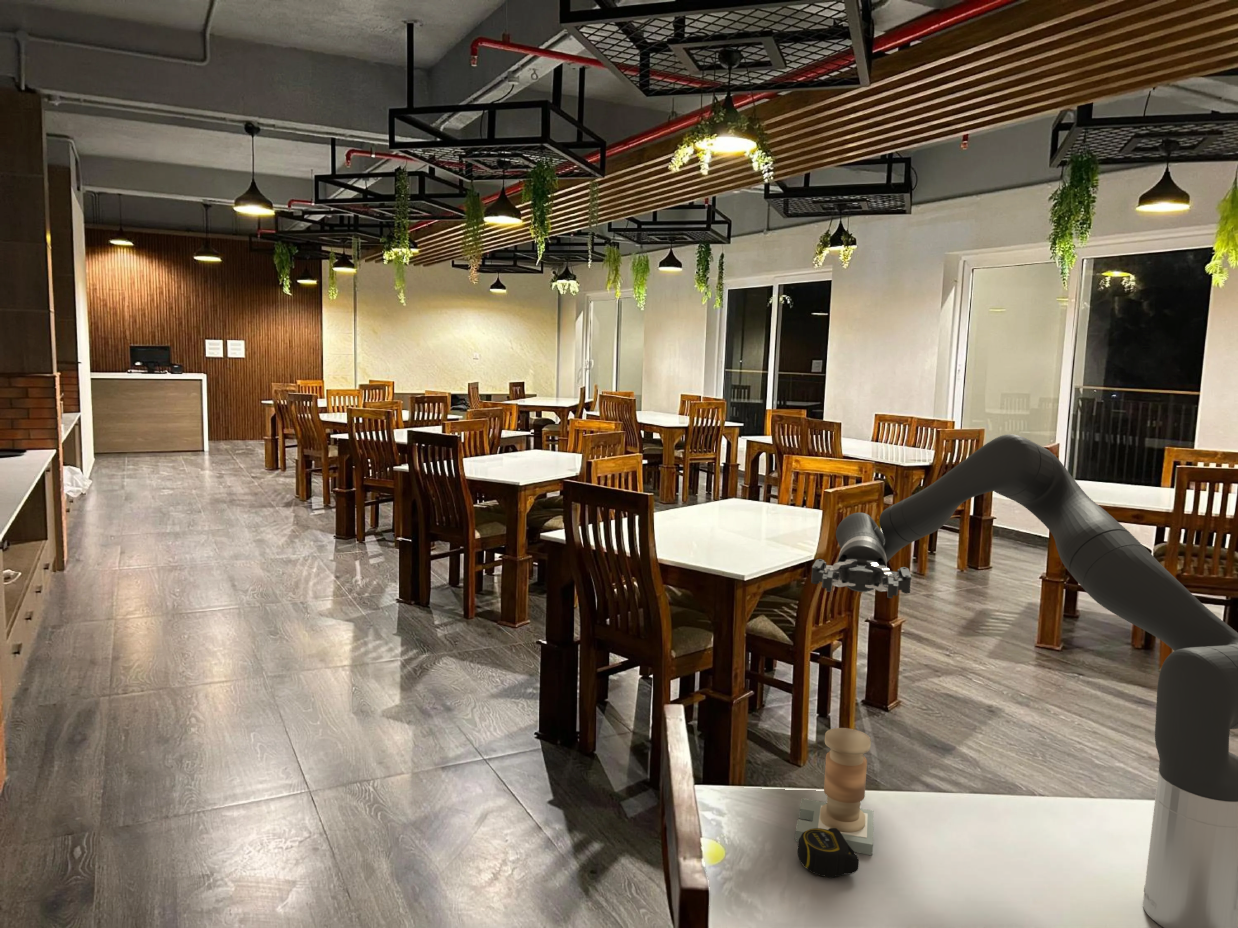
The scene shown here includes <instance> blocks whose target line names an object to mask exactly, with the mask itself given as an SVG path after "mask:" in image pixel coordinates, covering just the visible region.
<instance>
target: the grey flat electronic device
mask: <svg viewBox="0 0 1238 928" xmlns="http://www.w3.org/2000/svg"><path fill="white" fill-rule="evenodd" d="M825 804H827V801H826V802H825V801H820V800H814V799H808V798H803V797H801V799H800V804H799V812H798V813H799V815H798V819H797V821H796V827H795V834H794V835H795V838H794V842H798V841H799V838H800V837H801V835H802V833H803V832H805V831H807V830H809V829H813V828H821V829H826V830H828V829H830V828H829V827H827V826H826V825H824V824H823V823H822V821H821V820H820V810H821V807H822V806H823V805H825ZM860 810H861V811H863V813H864V814H865V826H864V828H863V829H862V830H860V831H857V832H841V831H840V833H841V834H842V835H843V837H844V839H845V840H846V842H847V843H848V845H849V846H850V847H851V848H852V849H853V851H854V852H855V853H856V854H857V853H858V854H862V855H863V854H864V855H868V856H869V855H870V856H873V848H874V816H875V813H874V812H875V811H874V810H873V809H866V808H861V807H860Z"/></svg>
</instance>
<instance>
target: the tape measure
mask: <svg viewBox="0 0 1238 928" xmlns="http://www.w3.org/2000/svg"><path fill="white" fill-rule="evenodd" d="M796 850H797V851H796V852H797V856H798V860H799V861H800V863H801V864H802V866H804V868H806V870H808V871H809V872H811V873H813V874H815V875H818V876H822V877H828V878H834V877H839V876H840V877H841V876H844V875H850V874H854V873H856V872H857V871H858V870H859V866H860V861H859V860H860V859H859V857H858V855H857V852H854V851H853V849H852V848H851V847H850V846H849V845H848V843H847V842H846V840H845V839H844V837H843V835H842V834H841V833H840V831H839V830H838V829H837V828H830V829H828V830H826V829H821V828H813V829H809V830H807V831H805V832H803V833H802V835H801V837H800V838H799V841H797V849H796Z"/></svg>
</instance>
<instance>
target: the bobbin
mask: <svg viewBox="0 0 1238 928" xmlns="http://www.w3.org/2000/svg"><path fill="white" fill-rule="evenodd" d="M870 737H871V736H869V735H868V734H866V733H865V732H863V731H860V730H857V729H854V728H853V729H852V728H848V727H835V728H830V729H828V730H827V731H826V732H825V733H824V743H825V745H826V747H828V748H829V749H830V750H829V751H828V752H827V753H826V755H825V767H824V768H825V770H824V783H823V785H824V786H823V792H824V794H825V795H826V796H827V797H826V802H827V804H825V805H823V806H822V807H821V810H820V820H821V821H822V823H823V824H824V825H826V826H827V827H829V828H837V829H838V830H839V831H841V832H857V831H860V830H862V829H863V828H864V826H865V814H864V813H863V811H861V810H860V808H861V802H862V801H863V800H864V799H865V797H866V796H865V795H866V784H867V783H866V782H867V781H866V779H867V767H868V760H867V758H866V757H865V755H864V754H866V753H868V752H869V751H870V750H871V743H872V739H871V738H870Z"/></svg>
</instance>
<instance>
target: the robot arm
mask: <svg viewBox="0 0 1238 928" xmlns="http://www.w3.org/2000/svg"><path fill="white" fill-rule="evenodd" d="M991 492H994V493H996V494H999V495H1000V496H1002V497H1005V498H1007V499H1008V500H1012V501H1014V502H1016V503H1018V504H1019V505H1021V506H1022V507H1024V508H1025V509H1026V510H1028V511H1029V512H1030V513H1031V514H1033V516H1035V517H1036V518H1037V519H1038V520H1039V521H1040V522H1041V523H1042V524H1043V525H1044V526H1045V527H1046V528H1047V529H1048V531H1049V532H1050V533H1051V535H1052V536H1053V539H1054V542H1055V546H1056V551H1057V552H1058V553H1057V554H1058V556H1059V558H1060V560H1061V563H1062V564H1063V566H1064V568H1066V570H1067V572H1069V574H1070V575H1071V576H1072V577H1073V579H1074V580H1075V581H1076V582H1077V583H1078V584H1079V585H1080V587H1081V588H1083V590H1084V591H1085V592H1086V593H1087V594H1088V596H1090V598H1092V599H1093V600H1094V601H1095V602H1096V603H1097V604H1099V605H1100V607H1103V608H1104V609H1105V610H1107V611H1109V612H1111V613H1112V614H1114V615H1116V616H1117V617H1119V618H1121V619H1123V620H1125V621H1126V622H1129V624H1132V625H1133V626H1135V627H1137V628H1140V629H1142V630H1143V631H1144V632H1147V633H1149V634H1150V635H1152V636H1153V637H1156V638H1157V639H1159V640H1160V641H1161V642H1163V643H1164V644H1165V645H1166V646H1168V647H1169V648H1170V649H1171V650H1173V651H1172V652H1170V654H1169V655H1168V656H1167V657H1166V658H1165V660H1164V661H1163V663H1162V665H1161V668H1160V671H1159V674H1158V681H1157V686H1156V687H1157V689H1156V706H1155V725H1154V740H1155V741H1154V742H1155V747H1156V751H1157V755H1158V758H1159V765H1158V772H1157V779H1156V780H1157V781H1156V789H1155V796H1154V806H1153V812H1152V813H1153V815H1152V823H1151V832H1150V838H1149V839H1150V840H1149V849H1148V857H1147V865H1146V872H1145V873H1146V874H1145V882H1144V886H1143V900H1142V907H1143V910H1144V912H1145V913H1146V914H1147V915H1148V916H1149V917H1150V919H1151V920H1152V921H1154V922H1155V923H1157V924H1158V925H1159V926H1161V927H1163V928H1238V755H1236V754H1234V753H1232V752H1230V751H1229V750H1230V732H1231V730H1238V632H1237V630H1235V629H1233V627H1231V626H1230V625H1229V624H1227V622H1225V621H1224V620H1222V619H1221V618H1220V617H1219V616H1217V615H1216V614H1215V613H1214V612H1212V611H1211V610H1210V609H1209V608H1208V607H1206V606H1205V605H1204V604H1203V603H1202V602H1201V601H1200V600H1199V599H1198V598H1197V597H1196V596H1195V595H1194V594H1192V593H1191V591H1189V589H1188V588H1186V587H1185V586H1184V585H1183V583H1181V582H1180V581H1179V580H1178V579H1177V578H1176V577H1175V576H1174V575H1173V574H1172V573H1171V572H1170V571H1168V570H1167V568H1166V567H1164V566H1163V565H1162V564H1161V563H1160V562H1159V561H1158V560H1157V558H1156V557H1155V556H1154V555H1153V554H1152V553H1151V552H1150V551H1149V550H1148V549H1147V548H1146V547H1145V546H1144V545H1143V543H1141V542H1140V541H1139V540H1138V539H1137V538H1136V537H1135V536H1134V535H1133V534H1132V533H1131V532H1130V531H1129V530H1128V529H1126V527H1124V526H1123V525H1122V524H1121V523H1120V522H1119V521H1118V520H1116V519H1115V518H1114V517H1113V516H1112V515H1111V514H1109V512H1108V511H1106V509H1104V508H1103V507H1102V506H1100V505H1099V504H1098V503H1096V502H1095V501H1094V500H1093V499H1092V498H1090V497H1089V496H1088V495H1087V494H1086V492H1085V491H1084V489H1082V488H1081V486H1080V485H1079V484H1078V482H1077V481H1076V480H1075V479H1074V477H1073V476H1072V475H1071V474H1070V472H1069V470H1067V468H1066V467H1065V465H1064V464H1063V463H1062V462H1061V460H1060V459H1059V458H1058V457H1057V455H1055V454H1054V453H1053V452H1052V451H1051V450H1049V449H1047V448H1045V447H1044V446H1041V445H1039V444H1038V443H1036V442H1034V441H1032V440H1030V439H1029V438H1026V437H1024V436H1021V435H1018V434H1014V433H1010V434H1009V433H1007V434H1002V435H999V436H997V437H996V438H994V439H991V440H990V441H988V442H987V443H985V444H984V445H982V446H981V447H980V448H978V449H977V450H976V451H974V452H973V453H971V454H970V455H969V456H968V457H967V458H965V459H964V460H962V461H961V462H960V463H958V464H957V465H956V466H954V467H953V468H952V469H950V470H949V471H948V472H946V473H945V474H943V475H942V476H941V477H940V478H938V479H937V480H935V482H933V483H931V484H930V485H928V486H927V487H925V488H923V489H922V490H920V491H918V492H916V493H915V494H912V495H910V496H909V497H905V498H904V499H902V500H900V501H899V502H896V503H894V504H892V505H890V506H889V507H886V508H885V509H884V510H883V511H882V512H881V513H880V516H879V526H880V527H879V526H878V525H877V522H876V521H875V520H874V519H873V517H871V516H870V515H869V514H868V513H865V512H854V513H850V514H849V515H847V516H846V517H845V518H843V519H842V520H841V522H839V524H838V526H836V527H837V528H836V531H835V537H836V538H835V539H836V541H837V543H838V545H839V548H840V551H839V554H838V557H837V558H838V559H837V562H835V563H833V565H831V564H830V565H829V564H827V562H826V561H825V560H824V559H821V558H819V559H816V560H815V561H814V563H813V564H812V566H811V578H810V579H811V580H810V583H811V584H813V585H819V584H820V583H821V587H822V589H825V591H826V592H832V588H833V587H834V586H835V587H837V588H843V587H847V588H848V589H849V590H851V591H854V592H859V593H866V592H867V593H868V592H871V591H878V592H887V596H886V597H887V598H888V599H893V597H894V596H898V594H899V591H901V593H904V594H905V595H908V594H910V593H911V584H912V582H911V581H912V573H911V572H910V569H909V568H908V567H906V566H903V567H899V568H898V569H897V571H892V570H890V568H889V567H887V566H888V565H887V564H888V562H889V560H891V559H892V558H893V557H894V556H895V555H896V554H897V553H898V552H899V551H900V550H901V549H903V548H904V547H906V546H908V545H910V544H912V543H913V542H915V541H918V540H920V539H922V538H924V537H926V536H928V535H931V534H934V533H935V532H937V531H938V530H940V529H941V528H942V527H943V526H945V525H946V524H947V522H948V521H949V520H950V519H951V518H952V517H953V515H954V513H955V512H956V510H957V509H958V508H959V507H960V506H961V505H962V504H963V503H965V502H966V501H968V500H970V499H971V498H975V497H977V496H981V495H984V494H987V493H991Z"/></svg>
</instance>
